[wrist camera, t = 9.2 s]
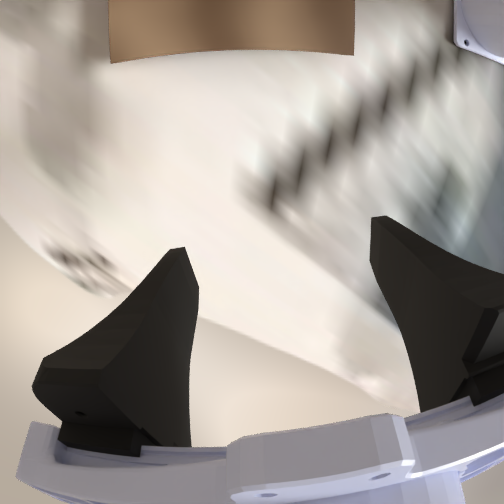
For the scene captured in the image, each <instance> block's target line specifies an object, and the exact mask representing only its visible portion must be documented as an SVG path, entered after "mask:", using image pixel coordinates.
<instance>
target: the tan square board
mask: <svg viewBox="0 0 504 504" xmlns="http://www.w3.org/2000/svg"><path fill="white" fill-rule="evenodd" d="M108 15H109V43H110V59H111V63H119V62H125V61H130V60H136V59H142V58H149V57H156V56H163V55H172V54H181V53H191V52H204V51H221V50H291V51H308V52H321V53H331V54H340V55H353V56H354V33H355V0H108Z"/></svg>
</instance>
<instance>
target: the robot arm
mask: <svg viewBox="0 0 504 504" xmlns="http://www.w3.org/2000/svg"><path fill="white" fill-rule="evenodd" d="M464 40H465V41H466V45H465V44H464ZM454 43H455V44H456V46H458V47H460V48H463V49H466V50H469V51H471V52H474V53H476V54H479V55H481V56H484V57H486V58H489V59H491V60H493V61H496V62H498V63H500V64H502V65H504V0H454ZM370 263H371V266H372V269H373V272H374V275H375V278H376V281H377V283H378V285H379V287H380V289H381V291H382V293H383V295H384V297H385V299H386V301H387V303H388V305H389V307H390V309H391V311H392V313H393V315H394V318H395V320H396V322H397V324H398V326H399V329H400V331H401V334H402V337H403V340H404V343H405V346H406V350H407V353H408V356H409V360H410V364H411V368H412V371H413V376H414V380H415V385H416V389H417V394H418V400H419V406H420V412H421V413H419V414H416V415H412V416H409V417H406V418H403V417H401V416H398V415H393V414H389V413H385V414H378V415H370V416H365V417H361V418H356V419H352V420H346V421H341V422H336V423H331V424H325V425H319V426H313V427H307V428H300V429H293V430H285V431H276V432H267V433H260V434H255V435H250V436H244V437H242V438H239V439H237V440H235V441H233V442H231V443H230V444H229V445H227V447H192V446H191V435H190V415H189V372H190V358H191V351H192V345H193V339H194V333H195V327H196V321H197V315H198V305H199V286H198V283H197V280H196V277H195V275H194V272H193V269H192V266H191V263H190V261H189V258H188V255H187V252H186V249H185V247H181V248H175V249H170V250H169V251H168V252H167V253H166V254H165V255H164V256H163V258H162V259H161V260H160V261H159V262H158V263H157V265H156V266H155V267H154V268H153V269H152V270H151V272H150V273H149V274H148V275H147V276H146V277H145V279H144V280H143V281H142V282H141V283H140V284H139V285H138V286H137V287H136V289H135V290H134V291H133V292H132V293H131V294H130V295H129V296H128V297H127V298H126V299H125V300H124V301H123V302H122V303H121V304H120V305H119V306H118V307H117V308H116V309H115V310H114V311H112V312H111V313H110V314H109V315H108V316H107V317H106V318H104V319H103V320H102V321H100V322H99V323H98V324H97V325H95V326H94V327H93V328H92V329H90V330H89V331H88V332H86V333H85V334H83V335H82V336H81V337H79V338H77V339H76V340H74V341H73V342H71V343H70V344H68V345H66V346H65V347H63V348H61V349H59V350H57V351H56V352H54V353H52V354H50V355H48V356H46V357H44V358H43V360H42V362H41V365H40V367H39V370H38V372H37V375H36V377H35V380H34V382H33V385H32V390H33V392H34V394H35V396H36V397H37V399H38V400H39V401H40V402H41V403H42V404H43V405H44V406H45V407H46V408H47V409H49V410H50V411H51V412H52V413H53V414H54V415H56V416H57V417H58V418H59V419H60V420H61V421H62V425H61V428H58V427H56V426H54V425H50V424H44V423H40V422H35V421H32V422H31V424H30V427H29V431H28V434H27V437H26V441H25V444H24V447H23V450H22V454H21V458H20V461H19V465H18V469H17V473H16V478H17V479H18V480H20V481H22V482H24V483H25V484H27V485H29V486H31V487H33V488H35V489H37V490H39V491H41V492H43V493H45V494H47V495H49V496H51V497H53V498H56V499H58V500H60V501H63V502H67V503H69V504H466V503H465V498H464V495H463V490H462V486H461V483H462V482H464V481H466V480H468V479H470V478H472V477H474V476H476V475H478V474H480V473H482V472H484V471H486V470H488V469H489V468H491V467H493V466H495V465H497V464H498V463H500V462H502V461H504V274H501V273H498V272H495V271H492V270H489V269H486V268H483V267H481V266H478V265H476V264H473V263H471V262H468V261H466V260H464V259H462V258H459V257H457V256H455V255H453V254H451V253H449V252H447V251H445V250H443V249H442V248H440V247H438V246H436V245H434V244H433V243H431V242H429V241H428V240H426V239H424V238H423V237H421V236H419V235H418V234H416V233H414V232H413V231H411V230H410V229H408V228H406V227H405V226H403V225H402V224H400V223H398V222H397V221H395V220H393V219H392V218H390V217H388V216H379V217H372V218H371V242H370Z"/></svg>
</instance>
